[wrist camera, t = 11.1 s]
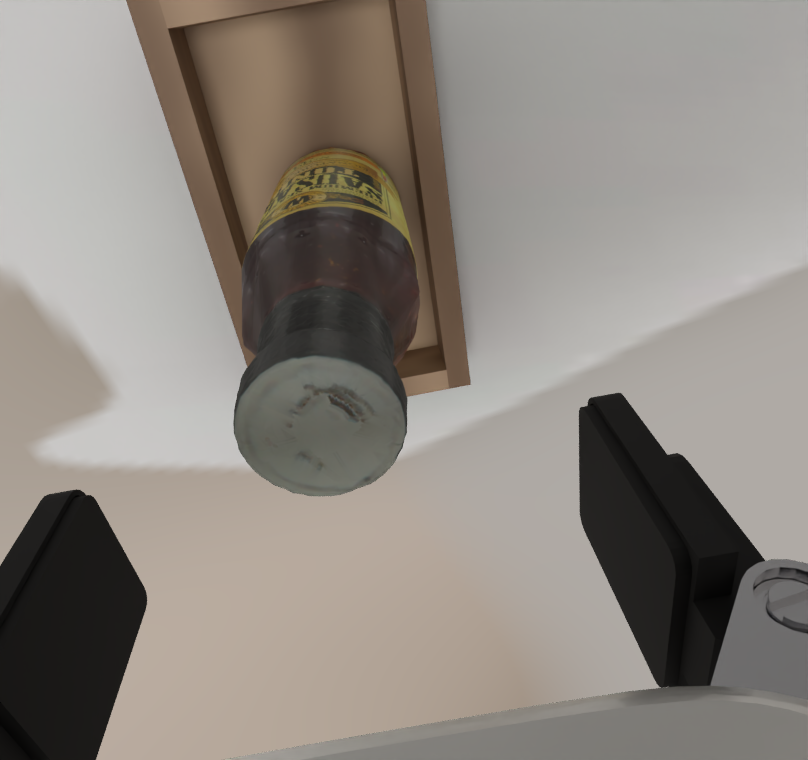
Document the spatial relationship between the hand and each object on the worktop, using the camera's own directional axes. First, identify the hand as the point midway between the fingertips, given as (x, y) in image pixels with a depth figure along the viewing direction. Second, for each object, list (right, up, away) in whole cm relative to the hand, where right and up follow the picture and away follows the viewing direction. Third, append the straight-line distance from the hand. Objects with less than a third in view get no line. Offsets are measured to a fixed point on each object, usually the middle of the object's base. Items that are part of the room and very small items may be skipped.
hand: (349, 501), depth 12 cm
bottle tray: (-3, +12, +20) cm, 23 cm away
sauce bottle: (-3, +11, +19) cm, 23 cm away
